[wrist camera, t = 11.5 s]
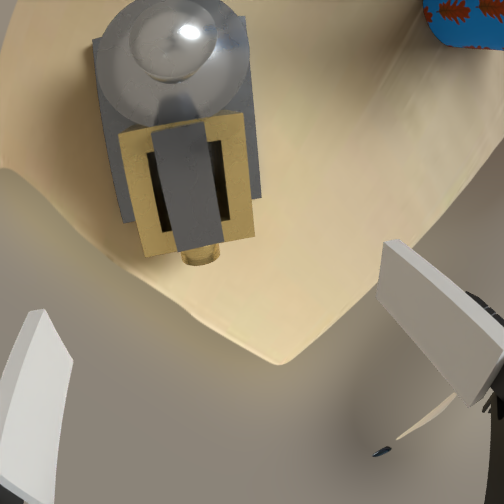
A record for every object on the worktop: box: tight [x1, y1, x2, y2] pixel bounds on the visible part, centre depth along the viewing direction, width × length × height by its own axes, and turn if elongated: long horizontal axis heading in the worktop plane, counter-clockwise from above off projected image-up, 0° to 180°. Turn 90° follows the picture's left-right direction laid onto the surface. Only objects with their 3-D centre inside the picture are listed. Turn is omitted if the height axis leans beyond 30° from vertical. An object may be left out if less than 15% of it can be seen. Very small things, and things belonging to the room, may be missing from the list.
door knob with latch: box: [92, 0, 262, 266], centre depth 25 cm, size 26×16×18 cm, turn 5°
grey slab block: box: [151, 121, 225, 252], centre depth 28 cm, size 10×4×10 cm, turn 7°
